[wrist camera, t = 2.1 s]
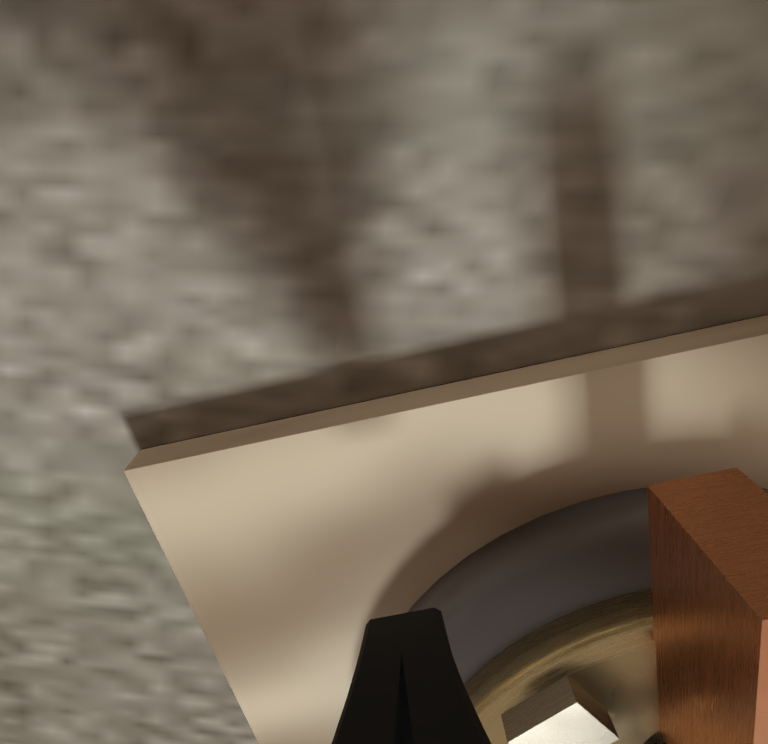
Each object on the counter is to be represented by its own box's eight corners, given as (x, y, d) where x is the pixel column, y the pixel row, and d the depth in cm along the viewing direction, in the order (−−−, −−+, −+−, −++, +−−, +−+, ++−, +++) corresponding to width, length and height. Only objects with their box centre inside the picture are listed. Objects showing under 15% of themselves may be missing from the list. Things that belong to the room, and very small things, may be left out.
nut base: (936, 830, 21) (1006, 914, 18) (360, 914, 22) (358, 1000, 20) (1119, 239, 12) (1300, 257, 10) (140, 449, 13) (92, 509, 11)
